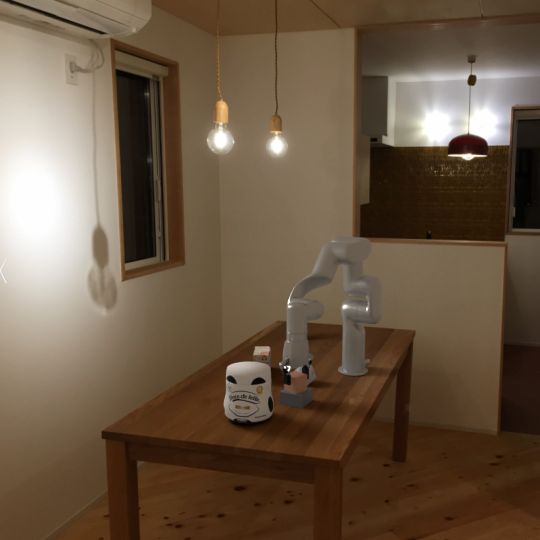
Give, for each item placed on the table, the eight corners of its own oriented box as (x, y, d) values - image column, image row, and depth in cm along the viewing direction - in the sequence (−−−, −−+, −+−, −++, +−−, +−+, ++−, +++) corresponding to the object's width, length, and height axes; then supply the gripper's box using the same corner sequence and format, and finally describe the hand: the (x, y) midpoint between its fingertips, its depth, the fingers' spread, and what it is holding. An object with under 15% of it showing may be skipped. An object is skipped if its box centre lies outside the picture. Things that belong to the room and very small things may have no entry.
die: (295, 388, 251) (310, 371, 248) (286, 373, 257) (300, 356, 254) (309, 391, 256) (324, 375, 253) (300, 376, 262) (314, 360, 259)
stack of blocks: (256, 367, 276) (256, 340, 275) (270, 367, 276) (270, 340, 274) (253, 383, 255) (253, 354, 253) (268, 384, 255) (268, 354, 253)
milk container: (233, 431, 208) (233, 378, 205) (217, 413, 224) (216, 363, 221) (281, 423, 215) (282, 372, 212) (262, 406, 231) (262, 358, 228)
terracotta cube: (295, 386, 238) (295, 370, 237) (306, 390, 234) (307, 374, 233) (284, 389, 234) (284, 374, 233) (295, 394, 230) (296, 378, 229)
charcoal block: (291, 397, 241) (291, 384, 240) (312, 401, 236) (312, 388, 236) (279, 404, 233) (279, 391, 232) (301, 409, 229) (301, 395, 228)
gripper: (305, 330, 239) (304, 373, 242) (272, 338, 227) (272, 384, 230) (320, 334, 234) (319, 378, 237) (287, 342, 222) (287, 389, 225)
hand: (296, 381), depth 233 cm, fingers open, 9 cm apart
